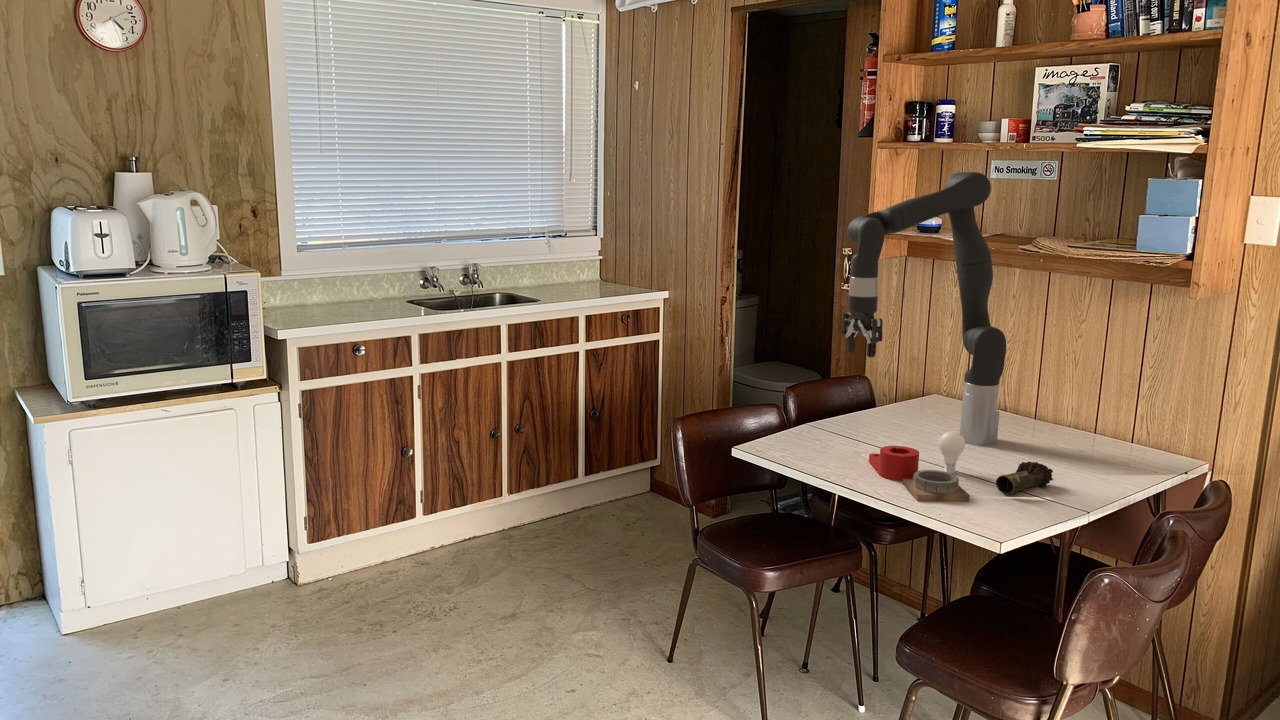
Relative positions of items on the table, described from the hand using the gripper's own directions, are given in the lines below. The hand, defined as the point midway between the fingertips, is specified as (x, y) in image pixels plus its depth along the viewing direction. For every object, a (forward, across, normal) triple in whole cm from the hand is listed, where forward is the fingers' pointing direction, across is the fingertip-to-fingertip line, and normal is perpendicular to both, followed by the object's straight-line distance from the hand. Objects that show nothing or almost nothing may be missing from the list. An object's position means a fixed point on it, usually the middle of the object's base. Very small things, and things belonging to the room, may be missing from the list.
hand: (860, 354), depth 257 cm
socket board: (+27, -36, +5) cm, 45 cm away
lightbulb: (+27, -26, -9) cm, 39 cm away
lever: (+27, -18, +3) cm, 33 cm away
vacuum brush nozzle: (+30, -44, -11) cm, 54 cm away
